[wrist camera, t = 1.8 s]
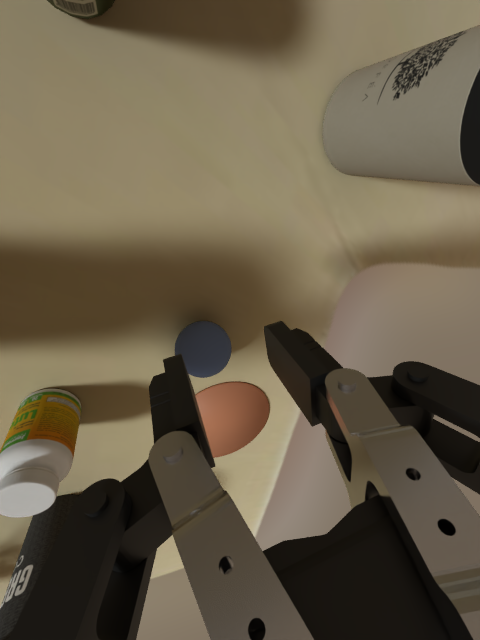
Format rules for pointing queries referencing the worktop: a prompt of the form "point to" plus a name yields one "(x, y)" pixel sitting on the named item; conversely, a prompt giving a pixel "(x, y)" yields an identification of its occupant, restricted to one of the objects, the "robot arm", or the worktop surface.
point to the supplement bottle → (38, 452)
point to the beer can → (82, 7)
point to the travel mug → (411, 115)
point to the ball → (203, 348)
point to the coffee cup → (33, 560)
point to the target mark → (232, 415)
